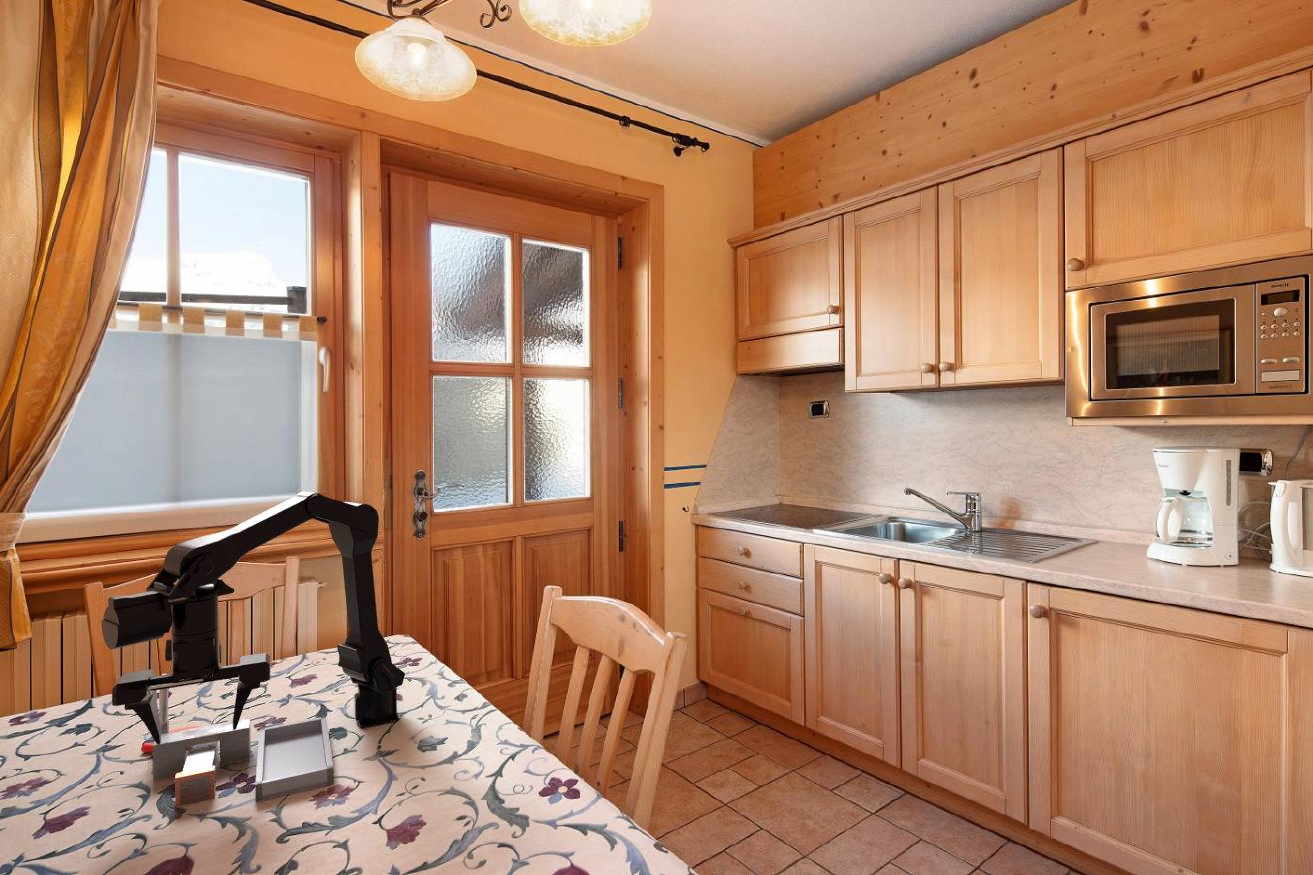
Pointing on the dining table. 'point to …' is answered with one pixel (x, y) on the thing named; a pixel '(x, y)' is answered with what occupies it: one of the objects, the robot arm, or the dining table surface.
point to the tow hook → (163, 719)
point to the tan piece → (197, 775)
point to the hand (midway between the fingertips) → (197, 735)
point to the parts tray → (293, 758)
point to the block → (175, 744)
